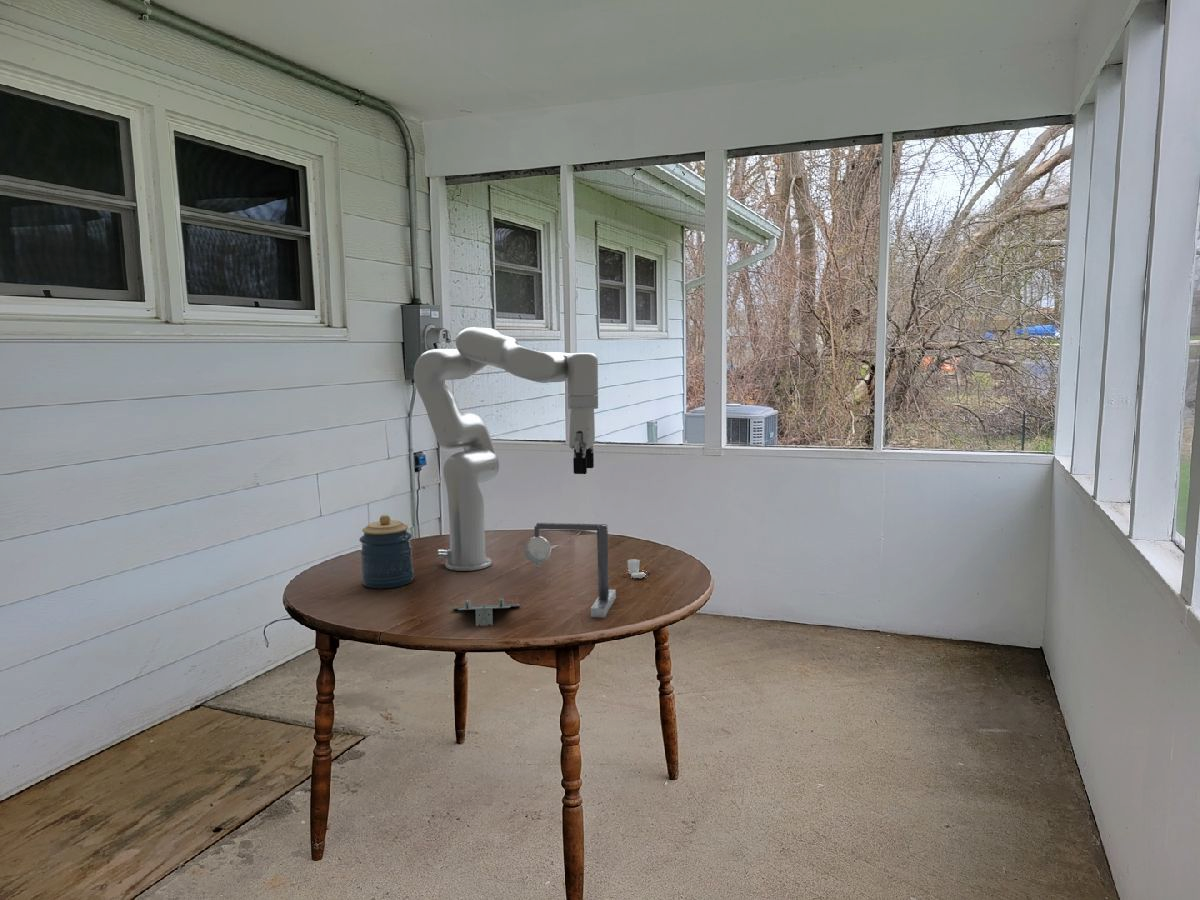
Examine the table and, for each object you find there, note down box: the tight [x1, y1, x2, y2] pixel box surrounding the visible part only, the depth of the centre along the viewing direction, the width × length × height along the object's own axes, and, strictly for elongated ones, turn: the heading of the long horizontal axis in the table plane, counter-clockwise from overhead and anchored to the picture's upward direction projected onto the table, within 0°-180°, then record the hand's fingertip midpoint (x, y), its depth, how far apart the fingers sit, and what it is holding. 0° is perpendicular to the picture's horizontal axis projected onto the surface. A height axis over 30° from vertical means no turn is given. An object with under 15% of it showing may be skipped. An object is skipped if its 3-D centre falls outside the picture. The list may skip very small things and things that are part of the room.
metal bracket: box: [452, 597, 521, 627], centre depth 173 cm, size 14×6×15 cm
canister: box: [358, 514, 415, 589], centre depth 200 cm, size 13×13×18 cm
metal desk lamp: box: [523, 522, 617, 619], centre depth 178 cm, size 20×14×19 cm
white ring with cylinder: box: [627, 558, 646, 579], centre depth 203 cm, size 9×8×4 cm
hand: (583, 470), depth 196 cm, fingers open, 9 cm apart
